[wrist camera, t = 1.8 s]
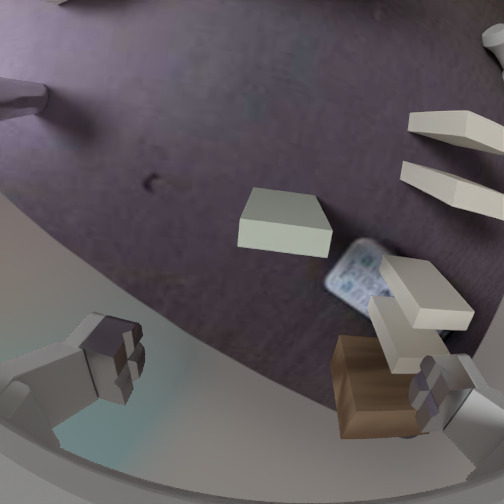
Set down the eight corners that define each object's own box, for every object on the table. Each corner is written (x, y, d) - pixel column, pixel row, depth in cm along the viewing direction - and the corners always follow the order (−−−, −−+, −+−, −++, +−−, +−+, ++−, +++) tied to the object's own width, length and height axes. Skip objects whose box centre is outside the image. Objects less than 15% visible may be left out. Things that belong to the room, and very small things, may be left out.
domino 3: (403, 161, 23) (457, 179, 15) (450, 173, 23) (512, 197, 14) (399, 179, 23) (451, 206, 15) (447, 190, 23) (506, 221, 15)
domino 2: (409, 112, 21) (467, 110, 13) (457, 128, 21) (522, 136, 13) (407, 131, 22) (464, 136, 14) (455, 145, 22) (519, 159, 13)
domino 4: (383, 254, 26) (420, 308, 18) (428, 260, 26) (474, 311, 18) (378, 270, 27) (412, 328, 18) (424, 276, 26) (466, 330, 18)
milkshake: (29, 134, 24) (-43, 148, 15) (21, 90, 22) (-49, 93, 13) (58, 116, 23) (-18, 124, 14) (50, 70, 22) (-23, 64, 12)
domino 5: (371, 295, 28) (399, 357, 19) (415, 299, 27) (452, 357, 19) (366, 309, 28) (391, 373, 20) (410, 313, 28) (444, 372, 20)
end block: (339, 334, 30) (356, 411, 20) (416, 339, 29) (448, 406, 20) (329, 363, 31) (340, 439, 22) (403, 366, 31) (428, 433, 22)
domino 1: (253, 187, 25) (240, 218, 17) (315, 195, 25) (332, 230, 16) (251, 206, 26) (237, 246, 17) (312, 214, 25) (327, 257, 17)
